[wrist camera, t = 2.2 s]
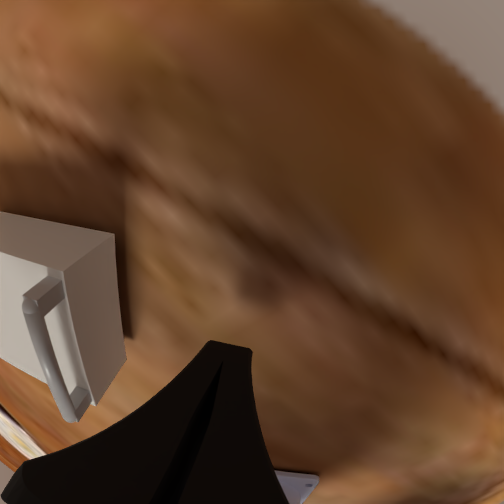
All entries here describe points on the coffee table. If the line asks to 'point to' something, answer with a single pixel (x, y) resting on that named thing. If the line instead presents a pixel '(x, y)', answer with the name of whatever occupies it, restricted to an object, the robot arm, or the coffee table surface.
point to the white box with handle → (60, 308)
